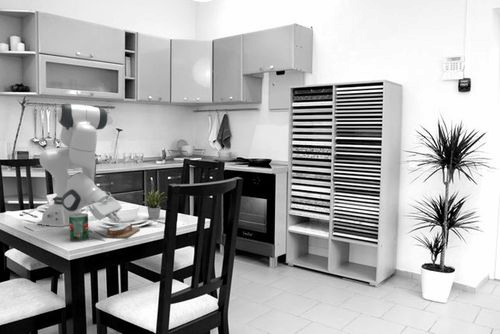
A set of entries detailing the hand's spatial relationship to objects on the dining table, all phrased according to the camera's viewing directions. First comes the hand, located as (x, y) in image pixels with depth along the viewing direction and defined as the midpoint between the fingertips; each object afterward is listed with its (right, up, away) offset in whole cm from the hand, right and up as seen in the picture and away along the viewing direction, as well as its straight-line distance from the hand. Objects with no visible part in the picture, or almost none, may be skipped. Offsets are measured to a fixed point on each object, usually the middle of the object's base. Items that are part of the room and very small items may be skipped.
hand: (118, 221), depth 203 cm
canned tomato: (-15, -7, -8) cm, 18 cm away
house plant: (+9, -3, +33) cm, 34 cm away
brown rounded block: (-4, -4, +1) cm, 5 cm away
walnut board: (+3, -6, 0) cm, 7 cm away
